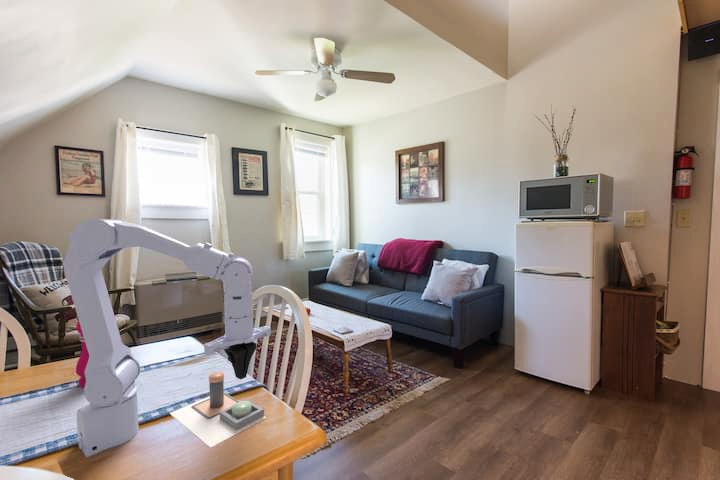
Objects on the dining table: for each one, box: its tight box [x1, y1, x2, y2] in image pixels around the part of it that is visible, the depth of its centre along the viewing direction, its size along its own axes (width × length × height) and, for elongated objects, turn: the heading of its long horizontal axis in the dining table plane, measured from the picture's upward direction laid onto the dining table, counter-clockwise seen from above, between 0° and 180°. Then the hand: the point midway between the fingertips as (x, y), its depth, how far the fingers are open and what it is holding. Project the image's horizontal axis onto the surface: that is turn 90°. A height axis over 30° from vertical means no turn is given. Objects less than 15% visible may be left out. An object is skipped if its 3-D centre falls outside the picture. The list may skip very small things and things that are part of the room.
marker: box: [208, 371, 225, 409], centre depth 78 cm, size 3×3×7 cm
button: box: [232, 400, 252, 419], centre depth 73 cm, size 4×4×2 cm
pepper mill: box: [75, 320, 89, 389], centre depth 91 cm, size 7×7×20 cm
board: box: [168, 392, 267, 448], centre depth 74 cm, size 14×20×2 cm
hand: (240, 377), depth 73 cm, fingers closed
